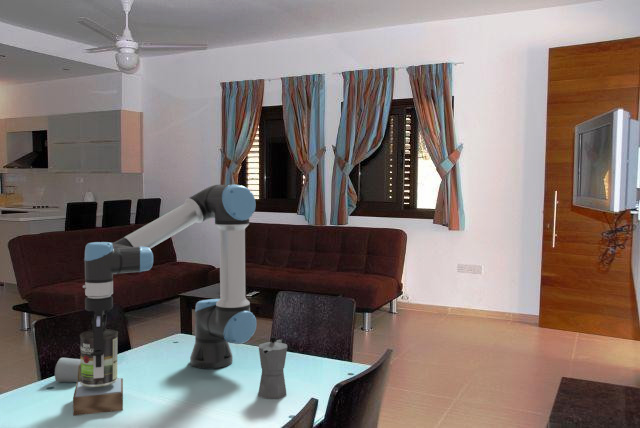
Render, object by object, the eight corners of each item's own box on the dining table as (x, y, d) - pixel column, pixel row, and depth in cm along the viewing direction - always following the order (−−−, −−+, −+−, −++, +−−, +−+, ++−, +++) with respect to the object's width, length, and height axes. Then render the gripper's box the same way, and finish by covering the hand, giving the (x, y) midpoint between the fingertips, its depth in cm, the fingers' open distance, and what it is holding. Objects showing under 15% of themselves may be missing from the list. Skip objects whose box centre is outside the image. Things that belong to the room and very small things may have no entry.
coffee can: (100, 389, 157) (99, 339, 157) (72, 384, 161) (71, 335, 160) (125, 378, 167) (125, 331, 166) (98, 373, 171) (98, 327, 170)
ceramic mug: (80, 385, 180) (80, 361, 180) (54, 385, 179) (54, 361, 179) (92, 375, 190) (92, 352, 190) (67, 374, 190) (67, 352, 190)
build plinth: (122, 394, 172) (122, 377, 172) (122, 410, 160) (122, 391, 160) (76, 399, 168) (76, 381, 168) (73, 415, 156) (73, 396, 156)
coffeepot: (278, 403, 167) (279, 343, 166) (249, 399, 170) (250, 340, 169) (296, 386, 182) (297, 331, 181) (269, 382, 185) (270, 328, 184)
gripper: (87, 289, 172) (87, 361, 173) (82, 304, 151) (82, 386, 152) (113, 288, 175) (113, 359, 176) (112, 302, 153) (112, 383, 154)
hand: (99, 371), depth 164 cm, fingers closed on coffee can, 10 cm apart
